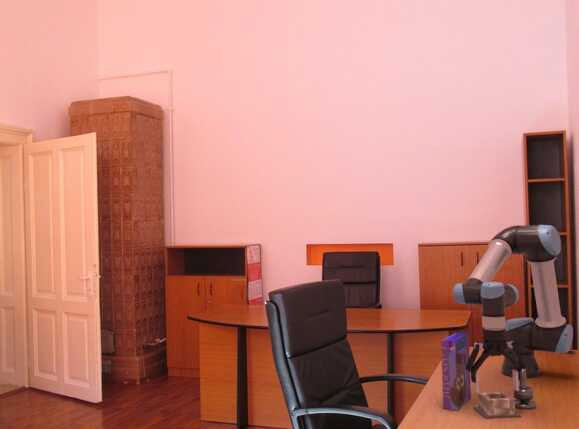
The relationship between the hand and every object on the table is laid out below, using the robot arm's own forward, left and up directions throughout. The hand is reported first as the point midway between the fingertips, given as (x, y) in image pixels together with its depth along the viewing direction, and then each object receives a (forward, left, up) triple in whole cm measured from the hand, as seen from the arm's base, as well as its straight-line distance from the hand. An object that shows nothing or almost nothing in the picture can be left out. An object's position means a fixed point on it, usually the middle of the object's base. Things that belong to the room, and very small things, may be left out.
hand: (496, 390), depth 206 cm
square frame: (0, 0, -7) cm, 7 cm away
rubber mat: (0, 0, -7) cm, 7 cm away
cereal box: (+10, -12, -8) cm, 17 cm away
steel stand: (-12, -6, -7) cm, 15 cm away
